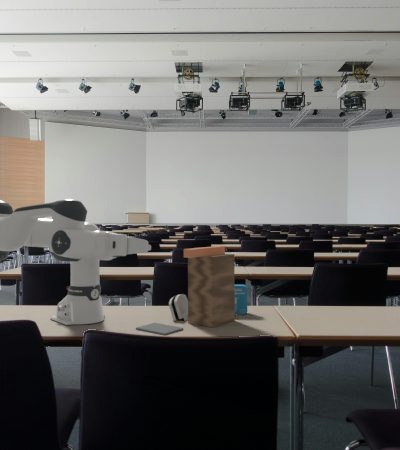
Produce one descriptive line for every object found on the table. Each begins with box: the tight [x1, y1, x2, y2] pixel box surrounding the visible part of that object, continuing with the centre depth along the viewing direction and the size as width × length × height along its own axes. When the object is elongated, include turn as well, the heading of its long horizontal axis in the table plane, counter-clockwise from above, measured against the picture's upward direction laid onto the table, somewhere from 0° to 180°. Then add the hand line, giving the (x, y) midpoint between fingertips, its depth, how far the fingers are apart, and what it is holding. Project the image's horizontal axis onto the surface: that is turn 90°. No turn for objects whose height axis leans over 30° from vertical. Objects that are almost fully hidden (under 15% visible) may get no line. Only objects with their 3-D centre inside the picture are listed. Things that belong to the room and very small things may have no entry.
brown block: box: [187, 253, 236, 328], centre depth 180 cm, size 12×14×26 cm
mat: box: [135, 322, 184, 336], centre depth 168 cm, size 14×10×1 cm
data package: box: [234, 283, 248, 316], centre depth 195 cm, size 12×4×12 cm, turn 84°
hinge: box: [168, 293, 188, 322], centre depth 190 cm, size 17×5×10 cm, turn 168°
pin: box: [183, 245, 226, 259], centre depth 176 cm, size 3×22×3 cm, turn 142°
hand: (139, 248), depth 151 cm, fingers open, 8 cm apart
